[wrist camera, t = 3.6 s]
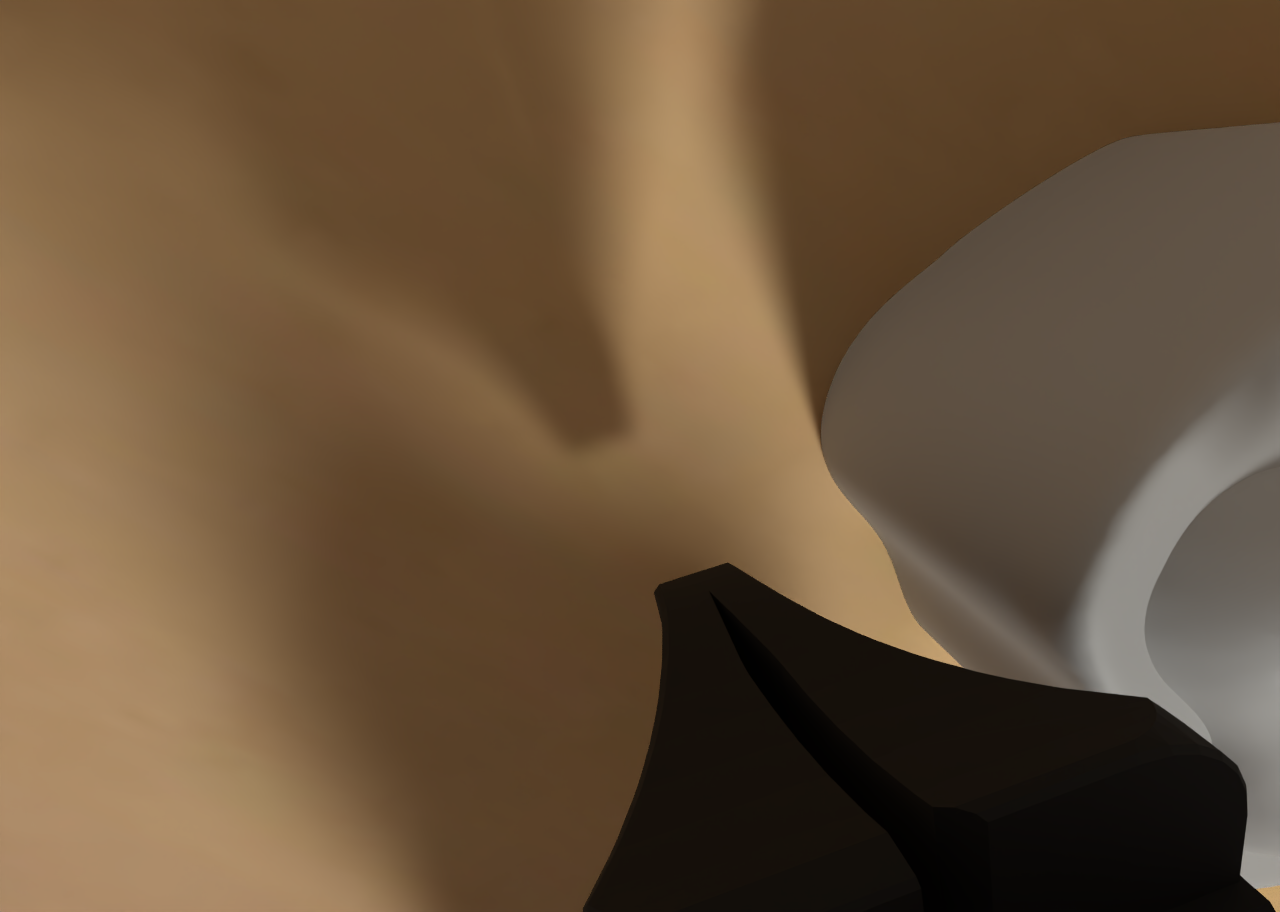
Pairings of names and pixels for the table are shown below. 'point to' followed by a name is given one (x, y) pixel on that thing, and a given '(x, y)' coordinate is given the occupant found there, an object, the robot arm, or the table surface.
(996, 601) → the lumpy-topped squat cylinder
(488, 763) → the table surface
